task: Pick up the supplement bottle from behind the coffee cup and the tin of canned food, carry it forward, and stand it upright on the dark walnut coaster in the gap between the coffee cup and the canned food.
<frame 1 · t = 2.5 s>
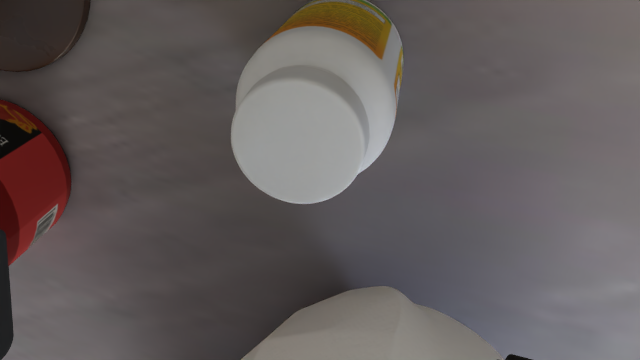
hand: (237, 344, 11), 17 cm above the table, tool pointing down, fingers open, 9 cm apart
canned food: (11, 162, 31), on the table
supplement bottle: (342, 55, 25), on the table
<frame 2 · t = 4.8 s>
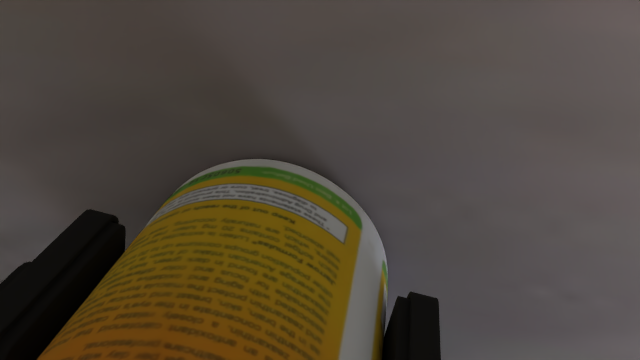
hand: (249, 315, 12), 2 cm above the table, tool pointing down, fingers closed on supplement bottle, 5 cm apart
supplement bottle: (273, 254, 14), on the table, touching gripper
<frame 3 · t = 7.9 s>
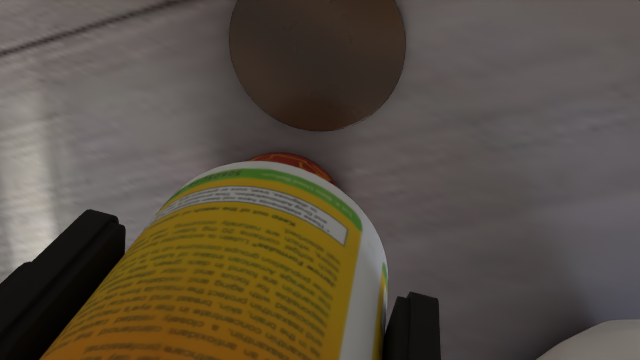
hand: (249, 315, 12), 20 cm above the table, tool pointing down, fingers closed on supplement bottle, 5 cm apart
coaster: (317, 45, 30), on the table
canned food: (285, 207, 35), on the table
supplement bottle: (273, 256, 14), point 18 cm above the table, touching gripper
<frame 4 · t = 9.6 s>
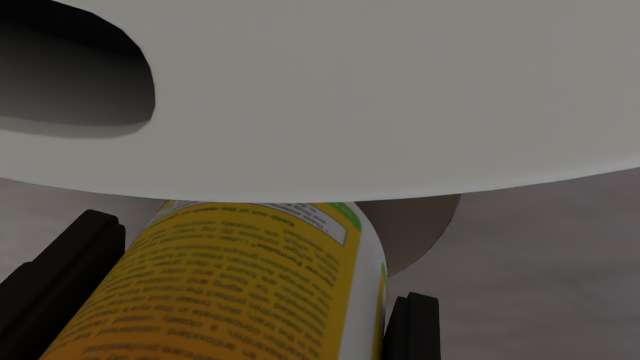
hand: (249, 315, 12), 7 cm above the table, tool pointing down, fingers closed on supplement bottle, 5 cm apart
coaster: (315, 160, 18), on the table
supplement bottle: (273, 256, 14), point 5 cm above the table, touching gripper
when the fingers open (3 cm above the table, at t = 11.2 s): supplement bottle stays where it is, resting on coaster.
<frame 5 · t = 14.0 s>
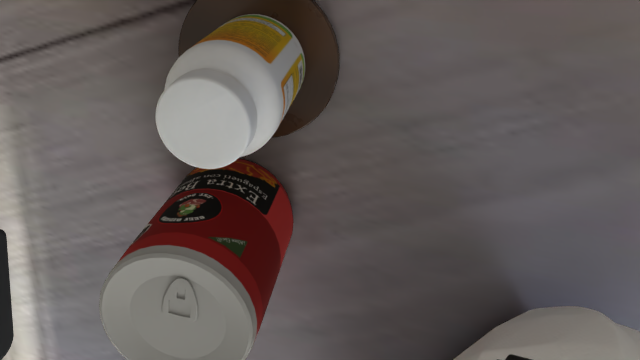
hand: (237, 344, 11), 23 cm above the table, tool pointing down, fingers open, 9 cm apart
coaster: (259, 59, 32), on the table
canned food: (238, 209, 37), on the table
supplement bottle: (259, 61, 32), resting on coaster
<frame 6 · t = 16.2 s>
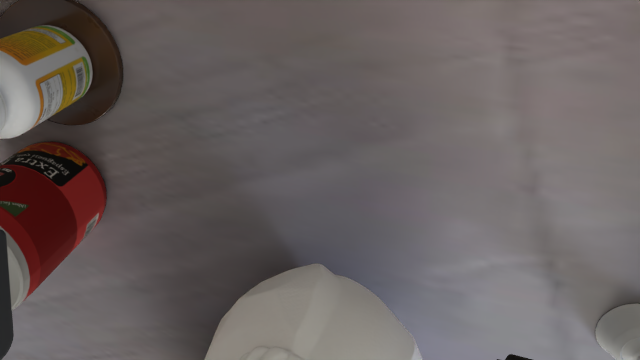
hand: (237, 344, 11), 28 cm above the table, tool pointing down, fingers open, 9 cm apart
coaster: (61, 61, 40), on the table
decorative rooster: (276, 328, 48), on the table
chalice: (631, 329, 43), on the table
canned food: (64, 184, 45), on the table
supplement bottle: (59, 63, 40), resting on coaster
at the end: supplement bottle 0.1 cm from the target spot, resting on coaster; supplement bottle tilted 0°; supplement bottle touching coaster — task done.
